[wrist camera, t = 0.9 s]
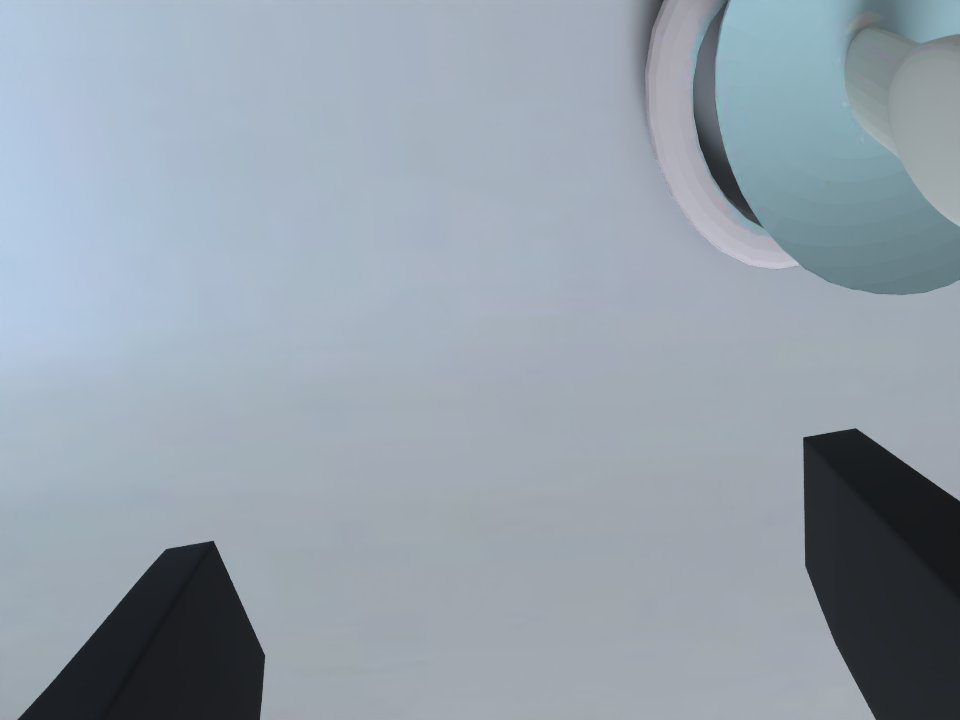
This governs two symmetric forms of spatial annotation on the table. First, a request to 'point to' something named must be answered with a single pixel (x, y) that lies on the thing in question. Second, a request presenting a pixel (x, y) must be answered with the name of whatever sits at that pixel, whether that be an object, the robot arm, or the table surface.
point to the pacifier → (820, 135)
